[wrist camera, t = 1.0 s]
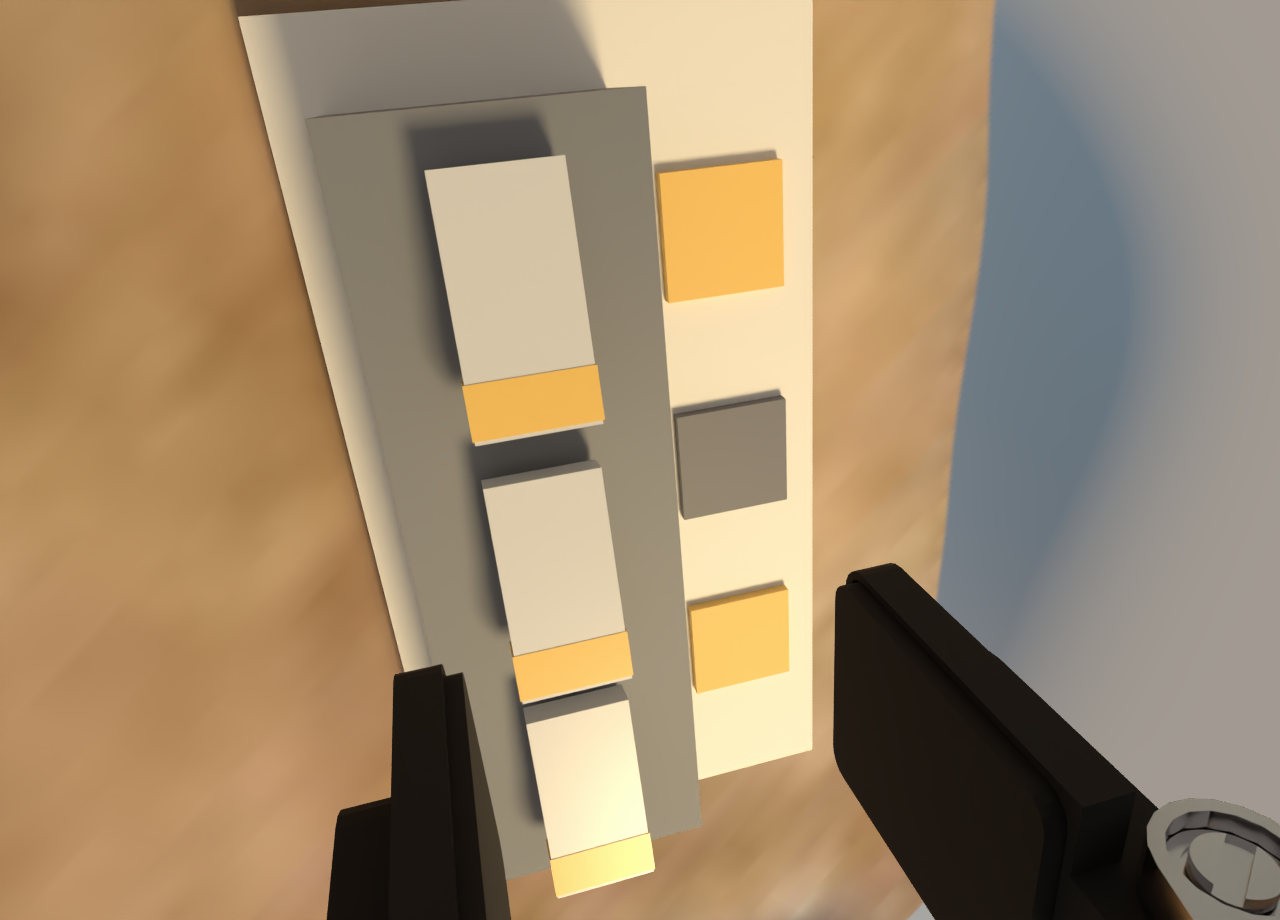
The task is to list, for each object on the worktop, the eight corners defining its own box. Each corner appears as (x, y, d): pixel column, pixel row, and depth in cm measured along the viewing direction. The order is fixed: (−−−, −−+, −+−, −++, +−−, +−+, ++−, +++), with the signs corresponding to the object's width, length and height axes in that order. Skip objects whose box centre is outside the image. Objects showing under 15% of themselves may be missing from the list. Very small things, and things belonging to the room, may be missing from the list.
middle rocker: (479, 480, 23) (481, 490, 22) (596, 458, 24) (603, 467, 23) (517, 687, 25) (521, 705, 24) (626, 662, 25) (634, 678, 24)
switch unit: (244, 20, 22) (199, -2, 18) (797, -22, 25) (891, -50, 21) (447, 827, 35) (454, 946, 30) (802, 734, 38) (861, 828, 33)
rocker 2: (521, 707, 26) (524, 725, 25) (622, 683, 27) (630, 699, 26) (552, 876, 28) (557, 899, 27) (647, 850, 29) (655, 871, 28)
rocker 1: (423, 175, 20) (421, 170, 19) (561, 159, 20) (567, 154, 19) (471, 438, 21) (473, 447, 20) (597, 416, 22) (605, 423, 21)
